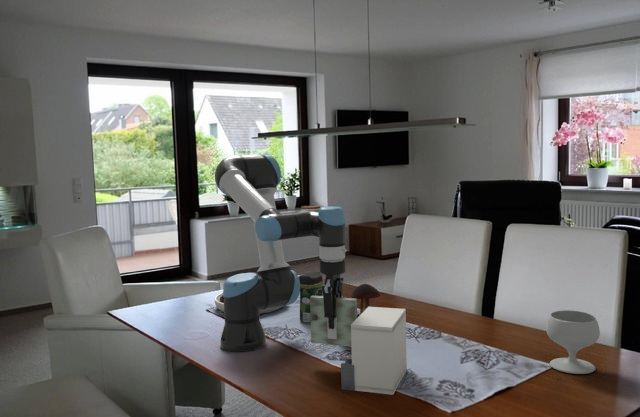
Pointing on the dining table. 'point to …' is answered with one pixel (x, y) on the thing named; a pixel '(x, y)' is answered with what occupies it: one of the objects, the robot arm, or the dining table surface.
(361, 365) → the cabinet
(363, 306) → the decorative mushroom
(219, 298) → the bowl
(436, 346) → the dining table surface
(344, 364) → the hinge clip
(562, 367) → the chalice
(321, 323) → the cabinet door
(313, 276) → the coffee jar
